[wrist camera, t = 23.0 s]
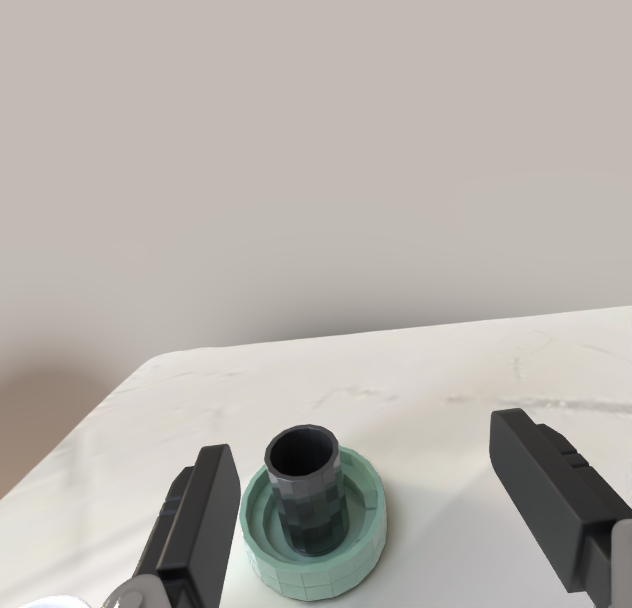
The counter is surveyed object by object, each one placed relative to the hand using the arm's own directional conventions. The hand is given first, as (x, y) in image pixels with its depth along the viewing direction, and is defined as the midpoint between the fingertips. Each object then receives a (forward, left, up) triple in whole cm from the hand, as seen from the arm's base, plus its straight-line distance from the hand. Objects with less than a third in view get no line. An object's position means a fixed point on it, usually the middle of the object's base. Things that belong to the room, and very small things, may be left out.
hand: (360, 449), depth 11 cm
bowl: (-1, -16, -24) cm, 29 cm away
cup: (-1, -16, -23) cm, 28 cm away
